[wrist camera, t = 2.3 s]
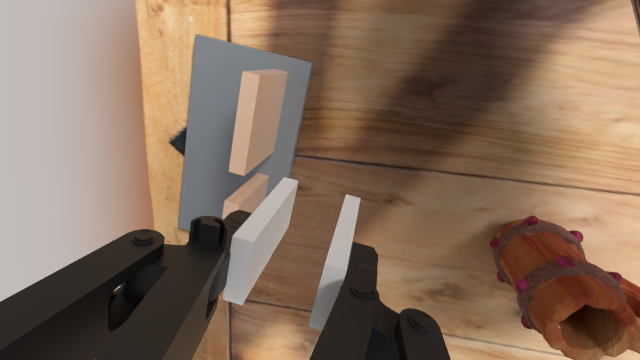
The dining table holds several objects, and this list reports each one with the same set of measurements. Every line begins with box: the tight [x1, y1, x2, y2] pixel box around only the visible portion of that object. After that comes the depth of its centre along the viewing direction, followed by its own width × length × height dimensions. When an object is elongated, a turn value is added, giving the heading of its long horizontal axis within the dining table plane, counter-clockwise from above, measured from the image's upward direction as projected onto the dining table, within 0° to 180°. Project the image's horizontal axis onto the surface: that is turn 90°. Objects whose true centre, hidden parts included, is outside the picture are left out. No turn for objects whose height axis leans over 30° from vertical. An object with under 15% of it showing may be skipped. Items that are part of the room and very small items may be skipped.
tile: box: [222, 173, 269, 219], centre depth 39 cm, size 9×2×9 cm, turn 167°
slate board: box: [178, 34, 314, 255], centre depth 42 cm, size 24×13×1 cm, turn 167°
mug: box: [490, 216, 640, 360], centre depth 33 cm, size 15×8×15 cm, turn 75°
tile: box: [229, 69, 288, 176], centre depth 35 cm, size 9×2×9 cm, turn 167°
